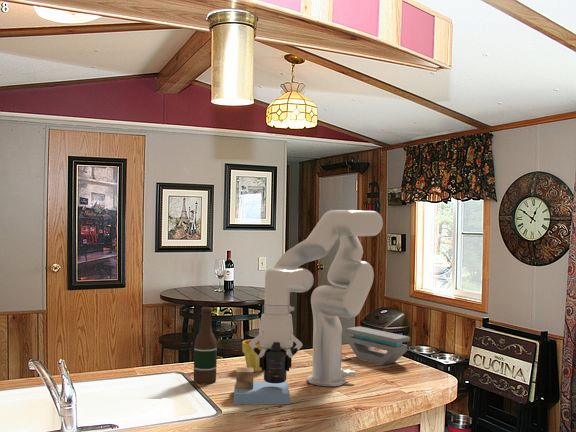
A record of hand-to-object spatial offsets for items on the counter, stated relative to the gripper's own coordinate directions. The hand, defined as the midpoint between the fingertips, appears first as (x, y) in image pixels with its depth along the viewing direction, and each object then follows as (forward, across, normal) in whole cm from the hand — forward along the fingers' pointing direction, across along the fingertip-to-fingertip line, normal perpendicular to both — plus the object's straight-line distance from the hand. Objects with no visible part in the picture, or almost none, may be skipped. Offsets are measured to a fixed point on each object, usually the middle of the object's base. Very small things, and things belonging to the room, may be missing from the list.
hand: (275, 369), depth 166 cm
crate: (+5, +9, -1) cm, 10 cm away
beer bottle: (+9, +22, -17) cm, 29 cm away
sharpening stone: (+8, -42, -46) cm, 62 cm away
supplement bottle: (+4, 0, 0) cm, 4 cm away
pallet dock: (+8, +4, 0) cm, 9 cm away
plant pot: (+9, +5, -32) cm, 34 cm away
